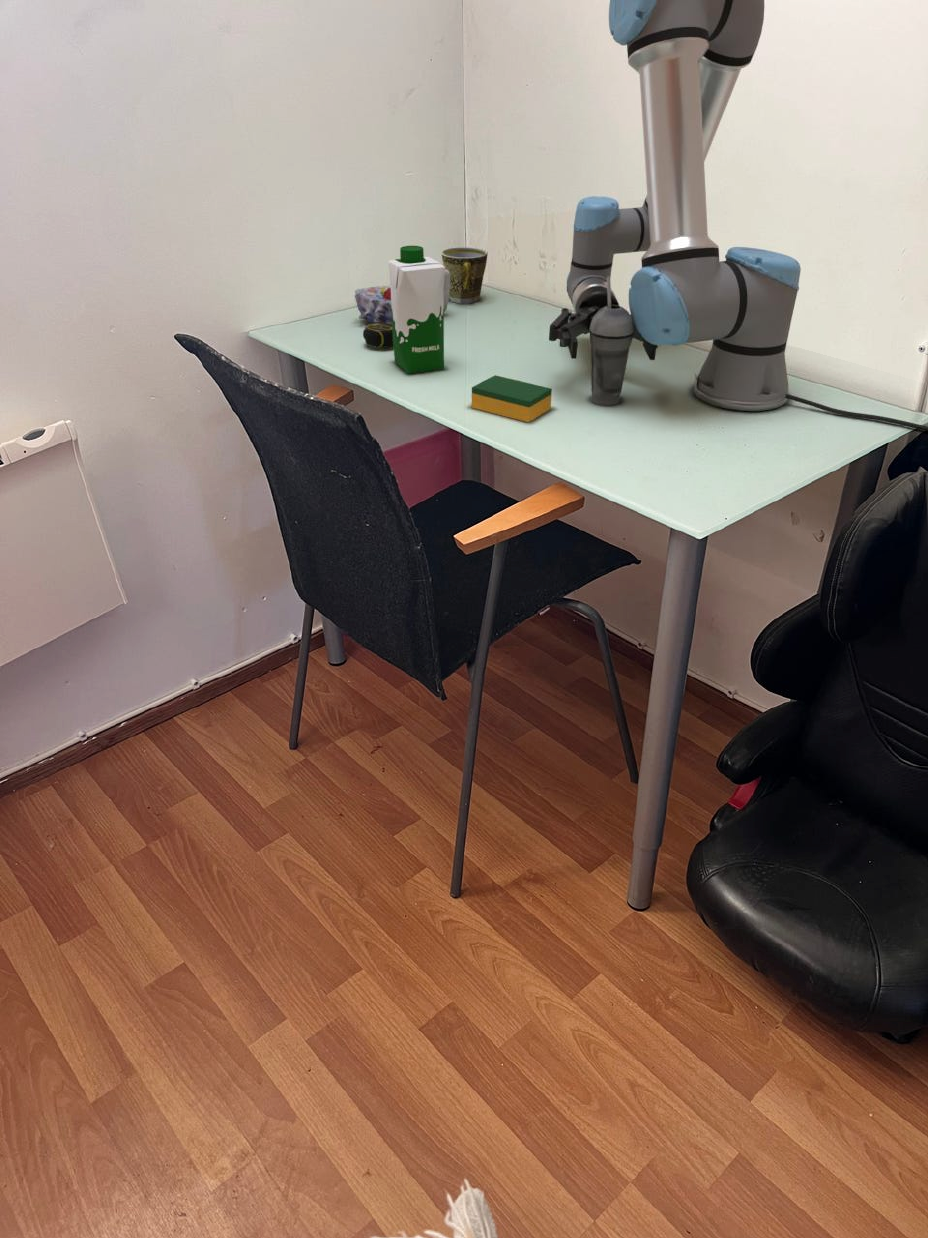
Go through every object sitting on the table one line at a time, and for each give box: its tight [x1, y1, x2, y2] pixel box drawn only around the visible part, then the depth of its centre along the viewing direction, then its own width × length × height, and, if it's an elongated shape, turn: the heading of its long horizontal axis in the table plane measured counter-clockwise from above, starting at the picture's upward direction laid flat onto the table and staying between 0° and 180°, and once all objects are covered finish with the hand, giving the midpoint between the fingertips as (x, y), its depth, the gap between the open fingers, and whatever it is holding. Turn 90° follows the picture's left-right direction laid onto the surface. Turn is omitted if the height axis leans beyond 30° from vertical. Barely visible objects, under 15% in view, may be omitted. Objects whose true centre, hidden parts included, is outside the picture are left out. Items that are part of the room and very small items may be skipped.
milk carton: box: [388, 245, 445, 375], centre depth 161 cm, size 9×9×20 cm
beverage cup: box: [588, 276, 634, 406], centre depth 148 cm, size 7×7×20 cm
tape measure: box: [362, 322, 393, 349], centre depth 176 cm, size 7×7×4 cm
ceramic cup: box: [441, 246, 489, 305], centre depth 199 cm, size 13×10×10 cm
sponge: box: [471, 375, 553, 423], centre depth 149 cm, size 11×7×4 cm, turn 55°
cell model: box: [354, 269, 450, 325], centre depth 188 cm, size 13×11×20 cm
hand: (614, 351), depth 146 cm, fingers open, 12 cm apart
